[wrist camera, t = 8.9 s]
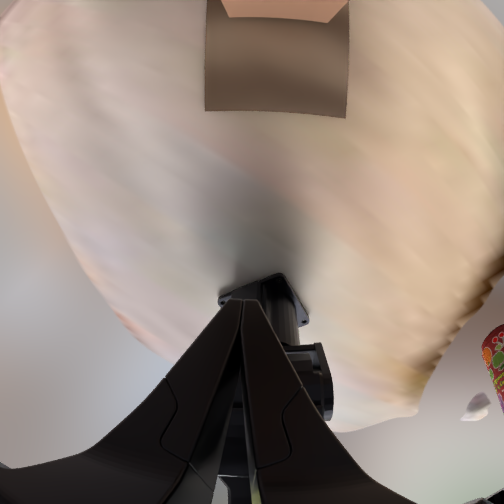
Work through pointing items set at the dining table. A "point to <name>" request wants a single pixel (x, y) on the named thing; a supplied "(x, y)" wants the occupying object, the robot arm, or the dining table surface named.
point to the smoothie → (495, 359)
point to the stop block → (276, 63)
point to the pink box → (285, 9)
